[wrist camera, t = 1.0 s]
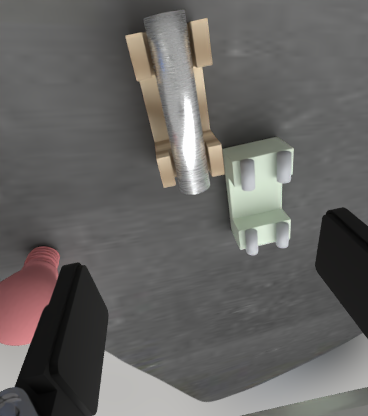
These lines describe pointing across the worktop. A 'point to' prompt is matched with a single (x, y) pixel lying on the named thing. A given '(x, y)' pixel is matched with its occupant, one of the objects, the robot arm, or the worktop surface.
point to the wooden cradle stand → (152, 100)
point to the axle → (178, 97)
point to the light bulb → (27, 296)
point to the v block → (258, 192)
